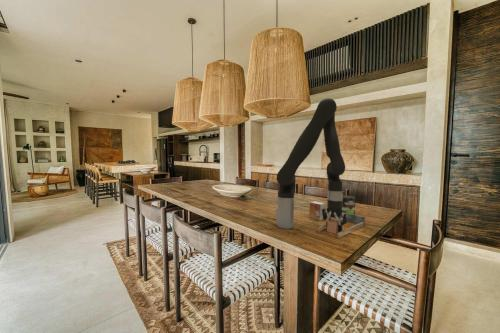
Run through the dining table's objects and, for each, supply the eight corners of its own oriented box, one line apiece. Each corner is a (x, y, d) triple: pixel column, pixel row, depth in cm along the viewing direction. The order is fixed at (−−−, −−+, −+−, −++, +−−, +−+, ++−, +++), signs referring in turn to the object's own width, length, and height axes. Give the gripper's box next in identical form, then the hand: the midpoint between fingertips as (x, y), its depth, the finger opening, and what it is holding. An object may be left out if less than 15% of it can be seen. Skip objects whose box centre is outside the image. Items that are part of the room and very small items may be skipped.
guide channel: (317, 231, 114) (318, 221, 114) (344, 220, 133) (344, 212, 133) (339, 237, 105) (339, 228, 105) (364, 225, 124) (364, 216, 124)
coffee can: (358, 220, 134) (359, 198, 133) (342, 220, 133) (343, 198, 133) (350, 215, 144) (350, 194, 143) (335, 215, 144) (335, 194, 143)
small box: (309, 218, 138) (309, 202, 137) (313, 216, 141) (314, 200, 141) (320, 221, 132) (320, 204, 131) (324, 219, 135) (325, 203, 135)
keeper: (327, 231, 114) (327, 220, 114) (332, 229, 117) (332, 218, 117) (335, 234, 110) (336, 223, 110) (340, 232, 113) (341, 221, 113)
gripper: (318, 197, 116) (318, 227, 117) (344, 202, 105) (343, 235, 106) (326, 195, 120) (325, 224, 121) (351, 200, 109) (350, 232, 110)
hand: (334, 229), depth 114 cm, fingers open, 5 cm apart
